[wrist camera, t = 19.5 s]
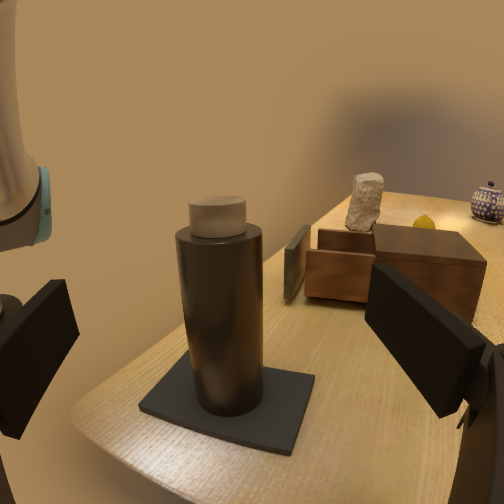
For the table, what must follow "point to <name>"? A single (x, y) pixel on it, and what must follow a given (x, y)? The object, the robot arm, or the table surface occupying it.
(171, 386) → the trivet mat
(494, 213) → the teapot
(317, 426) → the table surface
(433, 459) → the table surface
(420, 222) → the lemon
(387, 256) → the cabinet
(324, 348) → the table surface
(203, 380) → the thermos bottle
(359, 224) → the decorative stone
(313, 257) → the drawer
